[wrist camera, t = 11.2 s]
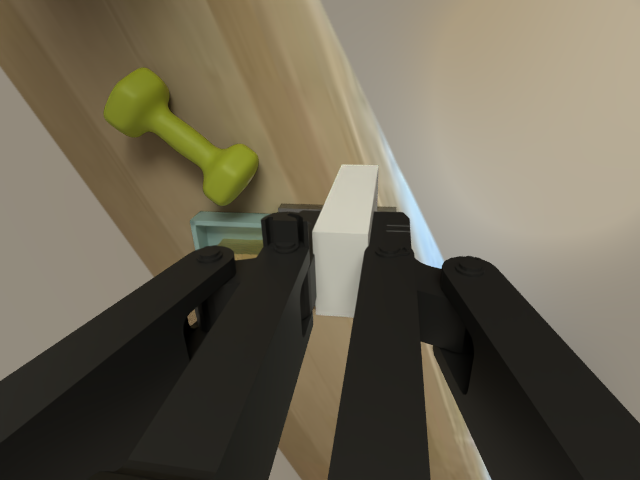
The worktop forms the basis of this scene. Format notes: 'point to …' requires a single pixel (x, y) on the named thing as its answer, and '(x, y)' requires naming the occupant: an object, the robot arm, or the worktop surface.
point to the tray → (225, 227)
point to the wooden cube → (253, 249)
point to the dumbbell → (178, 134)
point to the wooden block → (235, 246)
